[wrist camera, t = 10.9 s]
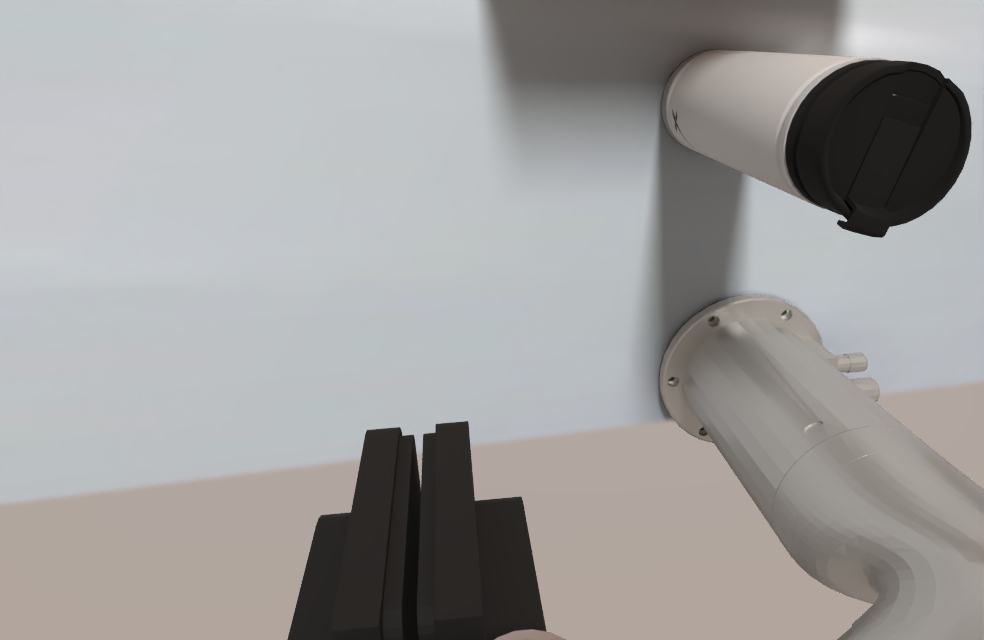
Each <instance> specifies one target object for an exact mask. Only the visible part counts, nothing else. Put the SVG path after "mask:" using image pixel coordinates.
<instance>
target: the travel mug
mask: <svg viewBox="0 0 984 640" xmlns="http://www.w3.org/2000/svg"><path fill="white" fill-rule="evenodd" d="M661 108H662V117H663V120H664V124H665V126H666V128H667V130H668V132H669V134H670V135H671V136H672V137H673V138H674V139H675V140H676V141H677V142H678V143H680V144H681V145H683V146H685V147H687V148H690V149H692V150H694V151H696V152H698V153H700V154H703V155H705V156H707V157H709V158H712V159H714V160H716V161H718V162H720V163H723V164H725V165H727V166H729V167H731V168H734V169H736V170H738V171H740V172H743V173H745V174H747V175H749V176H751V177H754V178H756V179H758V180H760V181H762V182H765V183H767V184H769V185H771V186H773V187H776V188H778V189H780V190H782V191H785V192H787V193H789V194H791V195H793V196H796V197H798V198H800V199H802V200H805V201H807V202H809V203H811V204H813V205H816V206H818V207H821V208H824V209H828V210H830V211H832V212H835V213H837V214H840V215H843V216H844V217H845V218H846V219H847V220H848V221H847V222H844V221H840V220H838V222H837V224H838V225H839V226H840V227H841V228H843V229H846V230H849V231H852V232H855V233H859V234H863V235H867V236H871V237H884V236H885V234H886V232H887V230H888V228H889V227H891V226H896V225H900V224H904V223H907V222H909V221H911V220H914V219H916V218H918V217H920V216H922V215H923V214H924V213H926V212H927V211H929V210H930V209H932V208H933V207H934V206H935V205H936V204H937V203H938V202H939V201H941V200H942V199H943V198H944V197H945V195H946V194H947V193H948V192H949V190H950V189H951V188H952V186H953V185H954V184H955V182H956V180H957V178H958V177H959V175H960V173H961V171H962V169H963V167H964V164H965V161H966V158H967V155H968V152H969V147H970V141H971V116H970V111H969V106H968V103H967V101H966V98H965V96H964V94H963V92H962V91H961V90H960V89H959V88H958V87H957V86H956V85H955V84H954V83H953V82H952V81H951V80H950V79H947V78H944V76H943V75H942V73H941V72H940V71H939V70H937V69H935V68H933V67H931V66H929V65H925V64H921V63H916V62H907V61H890V60H885V59H880V58H865V57H847V56H828V55H810V54H792V53H774V52H755V51H737V50H706V51H702V52H699V53H697V54H695V55H692V56H690V57H689V58H688V59H686V60H685V61H683V62H682V63H681V64H680V65H679V66H678V67H677V68H676V69H675V71H674V72H673V74H672V75H671V76H670V78H669V80H668V82H667V84H666V86H665V89H664V93H663V97H662V107H661Z"/></svg>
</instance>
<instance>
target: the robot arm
mask: <svg viewBox="0 0 984 640" xmlns="http://www.w3.org/2000/svg"><path fill="white" fill-rule="evenodd" d="M711 317H712V318H711ZM710 318H711V319H710ZM867 366H868V361H867V358H866V356H865V355H864V354H863V353H852V354H844V355H839V356H835V355H834V354H832V353H831V352H829V351H828V350H827V349H826V348H824V347H823V344H822V339H821V336H820V334H819V332H818V330H817V328H816V326H815V325H814V323H813V322H812V321H811V320H810V319H809V317H808V316H807V315H806V314H804V313H803V312H802V311H801V310H799V309H798V308H797V307H795V306H793V305H792V304H790V303H788V302H787V301H785V300H782V299H779V298H776V297H772V296H767V295H758V294H752V295H740V296H736V297H732V298H728V299H724V300H722V301H719V302H717V303H715V304H713V305H710V306H708V307H707V308H705V309H704V310H702V311H701V312H699V313H698V314H696V315H694V316H693V317H692V318H691V319H690V320H689V321H688V322H687V323H686V324H685V325H683V326H682V328H681V329H680V330H679V331H678V333H677V334H676V335H675V336H674V338H673V339H672V341H671V343H670V345H669V346H668V348H667V350H666V352H665V355H664V358H663V361H662V364H661V369H660V378H659V382H660V391H661V396H662V399H663V401H664V404H665V406H666V408H667V410H668V411H669V413H670V415H671V417H672V418H673V419H674V420H675V421H676V423H677V424H678V425H679V426H680V427H681V428H682V429H684V430H685V431H686V432H688V433H689V434H690V435H692V436H694V437H697V438H698V439H701V440H704V441H708V442H712V443H714V444H715V445H716V446H717V448H718V449H719V451H720V452H721V453H722V455H723V457H724V458H725V460H726V461H727V462H728V464H729V465H730V467H731V469H732V470H733V471H734V473H735V474H736V476H737V477H738V479H739V480H740V482H741V483H742V485H743V486H744V488H745V489H746V491H747V492H748V494H749V495H750V496H751V498H752V499H753V501H754V502H755V504H756V505H757V507H758V508H759V510H760V511H761V513H762V514H763V515H764V517H765V519H766V520H767V521H768V523H769V524H770V526H771V527H772V529H773V530H774V532H775V533H776V535H777V536H778V538H779V539H780V541H781V542H782V544H783V545H784V547H785V548H786V550H787V551H788V552H789V554H790V555H791V557H792V558H793V559H794V560H795V561H796V563H797V564H798V565H799V566H800V567H801V568H802V569H803V570H804V571H805V572H807V573H808V574H809V575H810V576H811V577H813V578H814V579H816V580H817V581H819V582H820V583H822V584H823V585H825V586H827V587H829V588H830V589H833V590H835V591H837V592H839V593H842V594H844V595H846V596H849V597H852V598H855V599H858V600H862V601H865V602H868V603H871V604H873V606H871V607H870V608H869V609H868V610H867V611H866V612H865V613H864V614H863V615H862V616H861V617H860V618H859V619H857V620H856V621H855V622H854V623H853V624H852V627H851V628H850V629H849V630H848V631H847V632H846V633H844V634H843V635H842V636H841V637H840V638H838V639H837V640H984V489H983V488H982V487H980V486H979V485H977V484H976V483H975V482H974V481H973V480H971V479H970V478H969V477H967V476H966V475H965V474H963V473H962V472H961V471H959V470H958V469H957V468H956V467H954V466H953V465H952V464H950V463H949V462H948V461H947V460H945V459H944V458H943V457H942V456H941V455H939V454H938V453H937V452H936V451H935V450H933V449H932V448H931V447H930V446H929V445H927V444H926V443H925V442H924V441H923V440H921V439H920V438H919V437H918V436H916V435H915V434H914V433H913V432H912V431H910V430H909V429H908V428H907V427H906V426H904V425H903V424H902V423H901V422H900V421H899V420H897V419H896V418H895V417H894V416H892V415H891V414H890V413H889V412H888V411H887V410H885V409H884V408H883V407H882V406H881V405H879V404H878V403H877V402H876V401H878V399H879V396H880V390H879V386H878V384H877V382H876V381H875V380H874V379H873V378H870V377H868V378H857V379H848V378H847V377H846V376H845V375H843V374H842V373H841V372H847V373H849V372H860V371H865V370H866V369H867ZM474 499H475V498H474V486H473V474H472V462H471V450H470V438H469V426H468V421H466V422H455V423H443V424H436V433H429V434H424V435H423V458H422V484H421V487H420V479H419V471H418V463H417V454H416V446H415V439H414V435H407V436H402V432H401V428H400V427H398V428H386V429H375V430H367V431H366V434H365V440H364V445H363V451H362V456H361V461H360V467H359V472H358V478H357V483H356V489H355V495H354V499H353V505H352V510H351V513H341V514H330V515H322V516H321V517H320V518H319V519H318V522H317V525H316V529H315V532H314V536H313V540H312V545H311V549H310V552H309V557H308V560H307V564H306V569H305V572H304V576H303V580H302V584H301V588H300V592H299V596H298V601H297V605H296V608H295V613H294V616H293V620H292V624H291V628H290V632H289V636H288V640H566V639H563V638H561V637H559V636H557V635H555V634H553V633H550V632H546V627H545V621H544V616H543V610H542V605H541V600H540V594H539V588H538V583H537V577H536V572H535V567H534V561H533V556H532V550H531V544H530V538H529V534H528V528H527V522H526V517H525V511H524V505H523V501H522V498H521V497H512V498H502V499H491V500H480V501H475V500H474Z"/></svg>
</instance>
